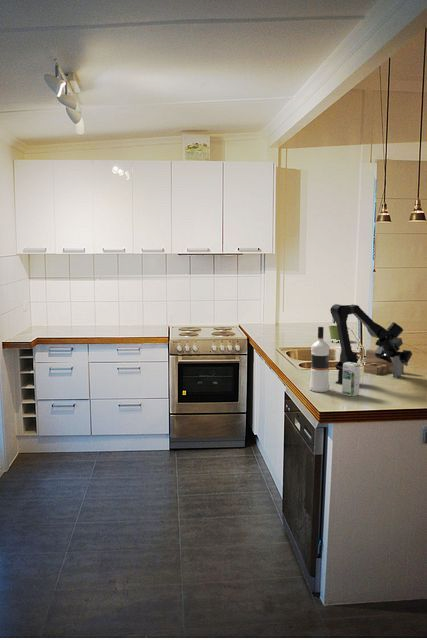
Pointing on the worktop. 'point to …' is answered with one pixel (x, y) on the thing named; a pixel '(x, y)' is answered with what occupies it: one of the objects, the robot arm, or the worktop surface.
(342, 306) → the robot arm
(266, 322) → the worktop surface
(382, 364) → the wooden socket
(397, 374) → the grey bar
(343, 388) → the syrup box
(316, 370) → the vodka
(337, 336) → the plant pot
